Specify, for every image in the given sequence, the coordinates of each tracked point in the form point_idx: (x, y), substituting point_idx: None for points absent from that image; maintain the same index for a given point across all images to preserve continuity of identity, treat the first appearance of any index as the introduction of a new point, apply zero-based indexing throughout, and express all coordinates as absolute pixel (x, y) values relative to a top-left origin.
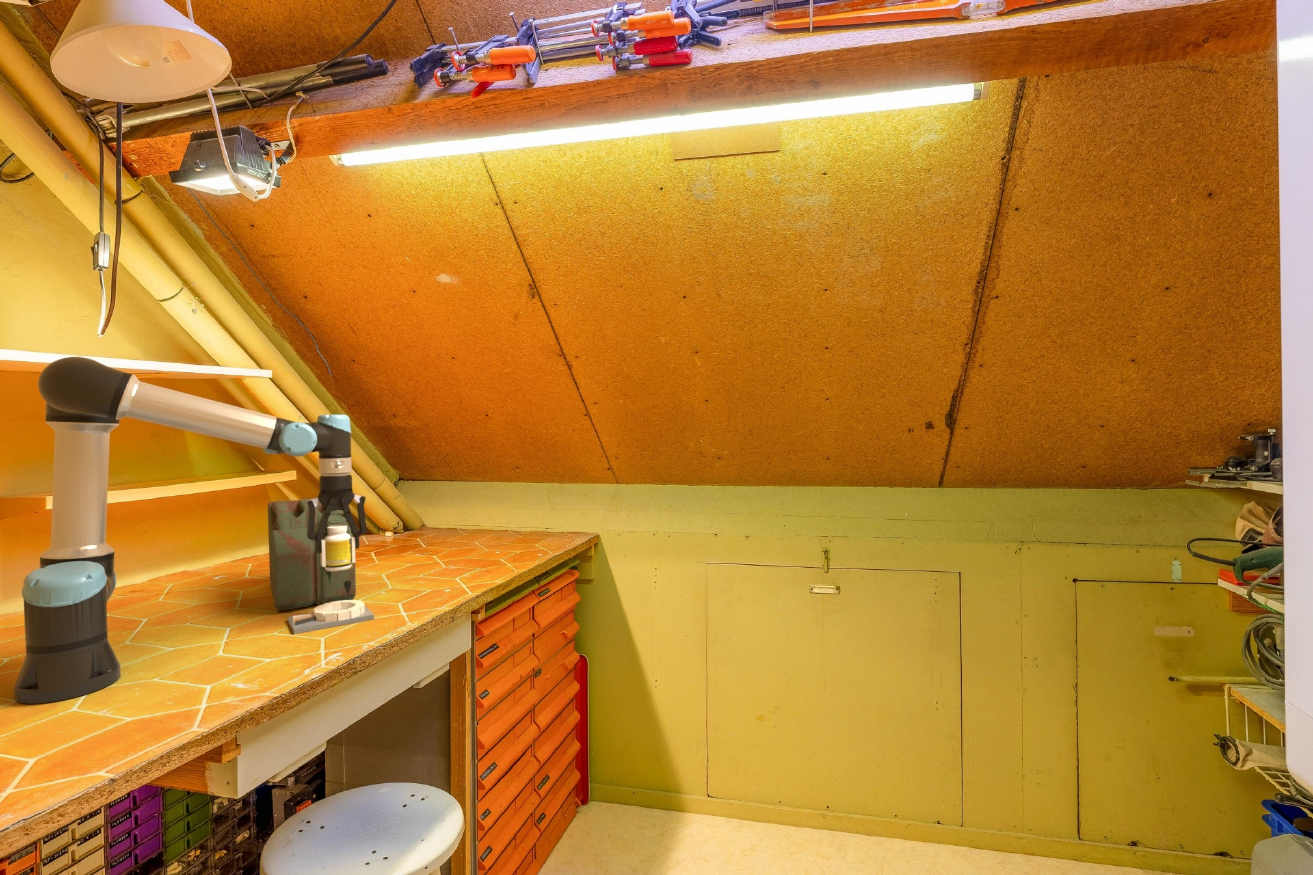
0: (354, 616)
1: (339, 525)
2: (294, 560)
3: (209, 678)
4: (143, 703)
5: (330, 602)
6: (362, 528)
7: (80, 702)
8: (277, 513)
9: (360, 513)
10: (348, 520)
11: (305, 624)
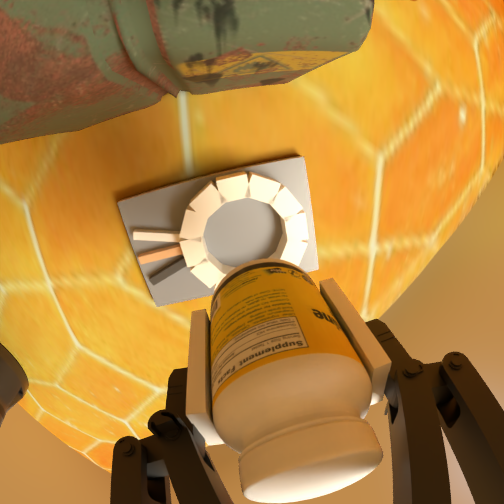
0: None
1: (340, 465)
2: (48, 115)
3: (113, 407)
4: (89, 425)
5: (218, 184)
6: (440, 413)
7: (35, 400)
8: None
9: (473, 487)
10: (393, 497)
11: (172, 284)
